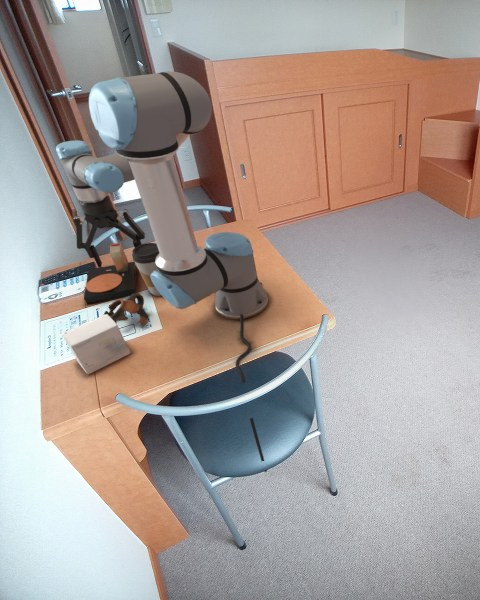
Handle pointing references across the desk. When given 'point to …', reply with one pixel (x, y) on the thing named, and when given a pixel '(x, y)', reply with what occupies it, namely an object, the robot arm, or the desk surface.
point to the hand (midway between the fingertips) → (120, 261)
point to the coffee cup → (147, 263)
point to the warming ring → (104, 283)
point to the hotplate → (120, 291)
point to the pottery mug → (128, 309)
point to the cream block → (119, 257)
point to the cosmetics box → (96, 343)
